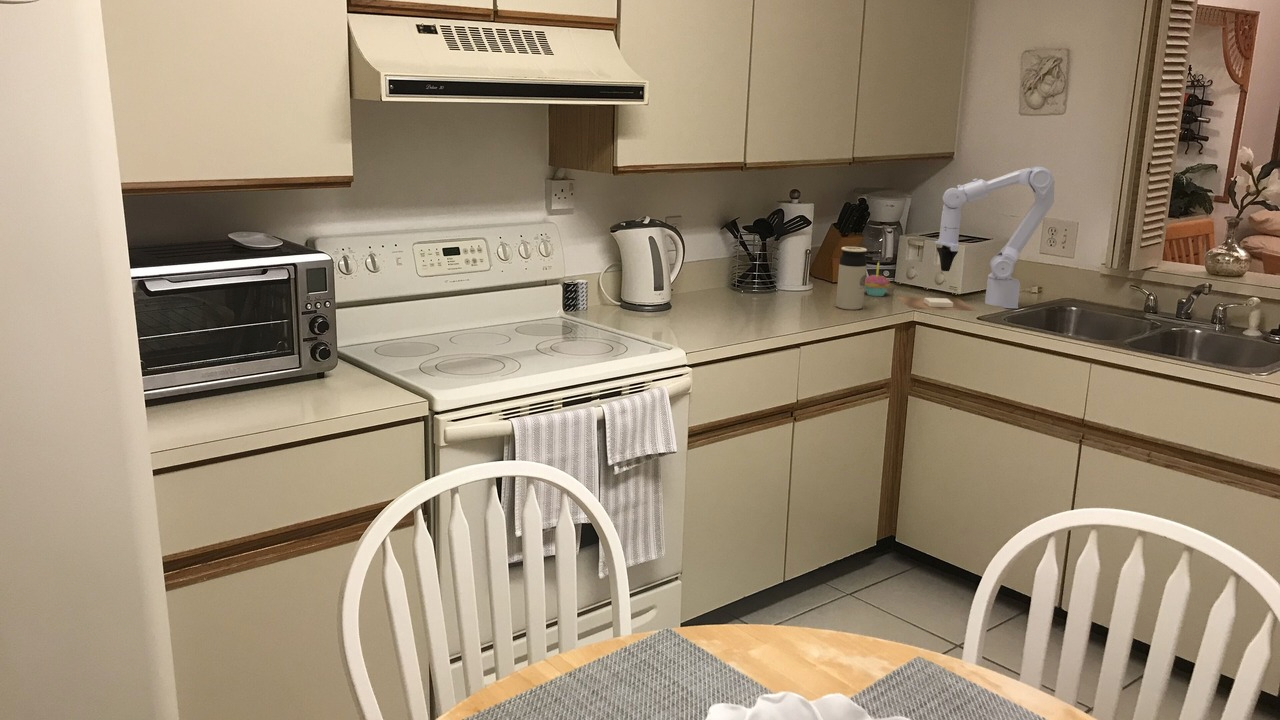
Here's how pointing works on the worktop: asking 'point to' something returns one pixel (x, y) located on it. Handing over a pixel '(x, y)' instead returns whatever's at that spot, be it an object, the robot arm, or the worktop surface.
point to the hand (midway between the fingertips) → (945, 270)
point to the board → (919, 304)
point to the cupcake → (876, 284)
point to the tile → (938, 302)
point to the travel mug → (851, 278)
